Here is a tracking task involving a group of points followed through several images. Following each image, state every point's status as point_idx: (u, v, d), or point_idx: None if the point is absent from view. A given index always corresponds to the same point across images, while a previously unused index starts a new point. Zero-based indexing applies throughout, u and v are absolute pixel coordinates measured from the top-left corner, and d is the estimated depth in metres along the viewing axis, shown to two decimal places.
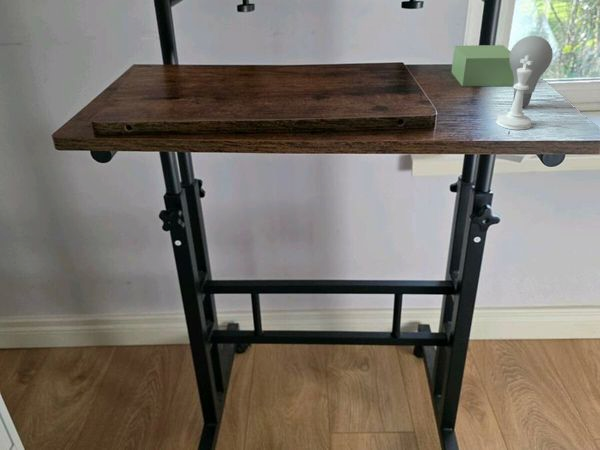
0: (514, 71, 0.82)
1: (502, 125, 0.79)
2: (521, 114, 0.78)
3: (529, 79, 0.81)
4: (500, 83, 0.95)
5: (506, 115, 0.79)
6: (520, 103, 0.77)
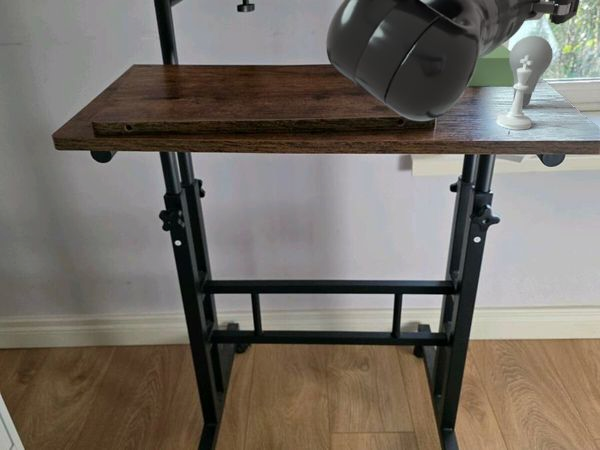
0: (514, 71, 0.82)
1: (502, 125, 0.79)
2: (521, 114, 0.78)
3: (529, 79, 0.81)
4: (500, 83, 0.95)
5: (506, 115, 0.79)
6: (520, 103, 0.77)
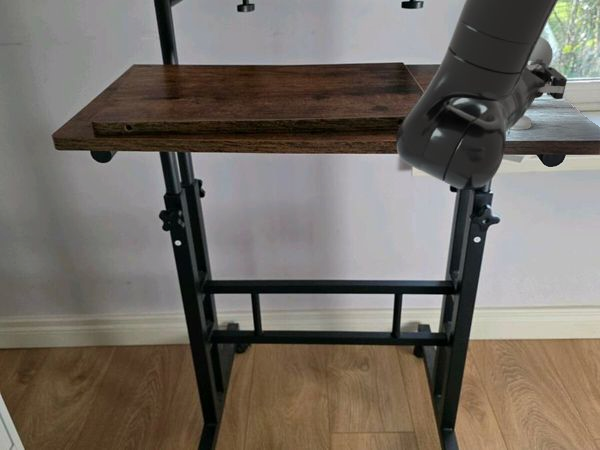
0: None
1: None
2: None
3: None
4: None
5: None
6: None
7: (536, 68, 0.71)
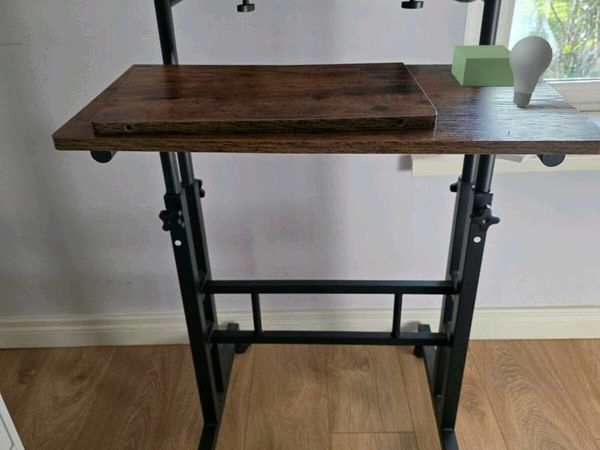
0: (514, 71, 0.82)
1: None
2: None
3: (529, 79, 0.81)
4: (500, 83, 0.95)
5: None
6: None
7: None
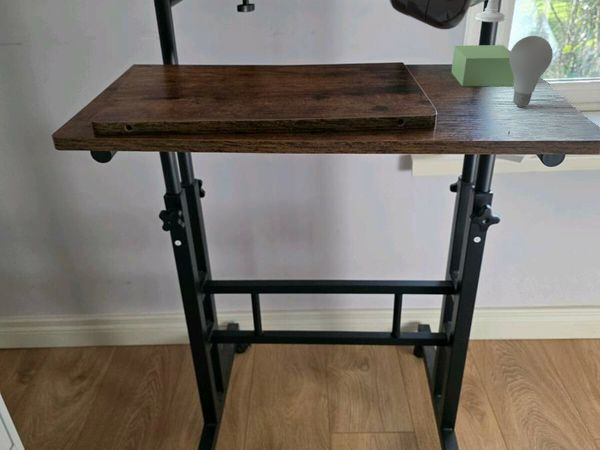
0: (514, 71, 0.82)
1: (480, 19, 0.92)
2: (496, 9, 0.92)
3: (529, 79, 0.81)
4: (500, 83, 0.95)
5: None
6: None
7: None
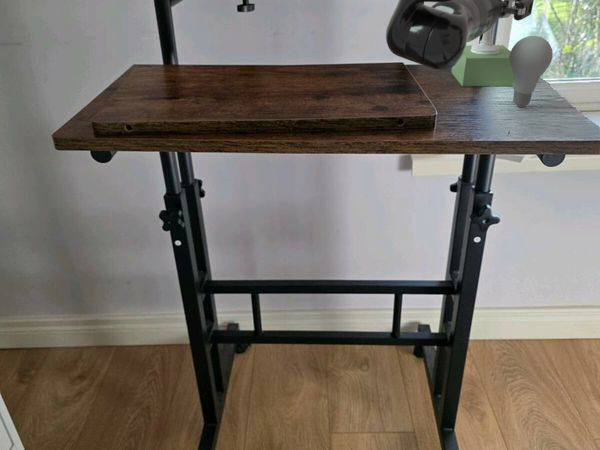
0: (514, 71, 0.82)
1: (475, 52, 0.95)
2: (490, 42, 0.95)
3: (529, 79, 0.81)
4: (500, 83, 0.95)
5: (478, 44, 0.96)
6: (489, 33, 0.94)
7: None
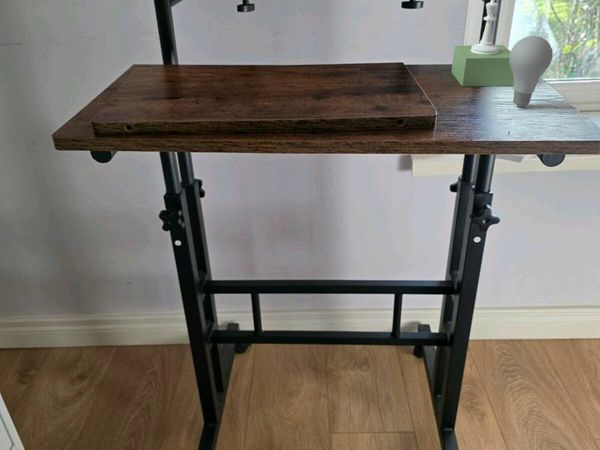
0: (514, 71, 0.82)
1: (475, 52, 0.95)
2: (490, 42, 0.95)
3: (529, 79, 0.81)
4: (500, 83, 0.95)
5: (478, 44, 0.96)
6: (489, 33, 0.94)
7: None
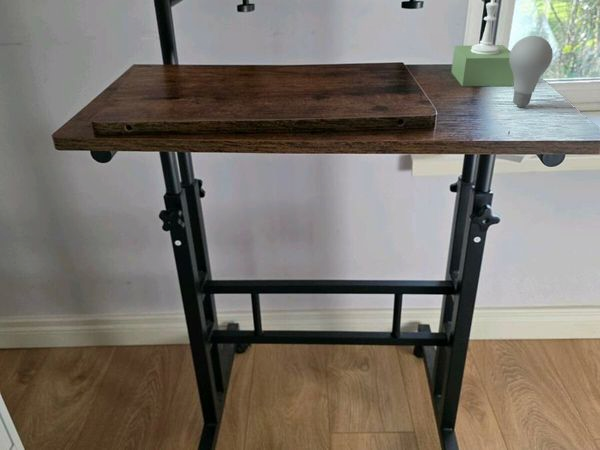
0: (514, 71, 0.82)
1: (475, 52, 0.95)
2: (490, 42, 0.95)
3: (529, 79, 0.81)
4: (500, 83, 0.95)
5: (478, 44, 0.96)
6: (489, 33, 0.94)
7: None
